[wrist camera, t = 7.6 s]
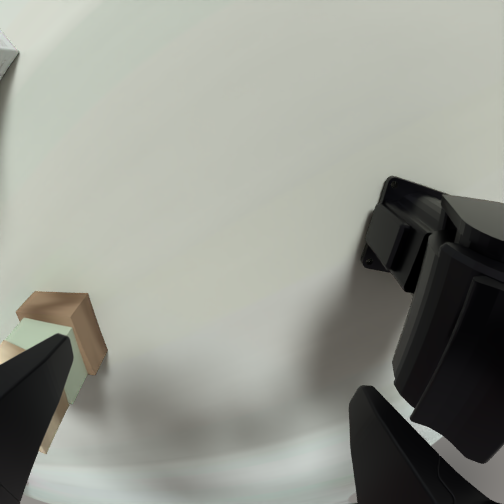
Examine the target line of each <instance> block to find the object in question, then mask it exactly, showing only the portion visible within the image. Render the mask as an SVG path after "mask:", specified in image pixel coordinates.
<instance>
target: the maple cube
mask: <svg viewBox="0 0 504 504" xmlns="http://www.w3.org/2000/svg"><path fill="white" fill-rule="evenodd" d="M24 351H25V349H23V348H20V347H18V346H16V345H14V344H12V343H10V342H7V341H5V340H3V342H2V343H1V344H0V364H2V363H4V362H6V361H8V360H9V359H11V358H13V357H15V356H16V355H18V354H20V353H22V352H24ZM68 407H69V403H68V400H67V397H66V393H65V390H63V393H62V396H61V399H60V401H59V404H58V406H57V408H56V411H55V413H54V415H53V417H52V420H51V422H50V424H49V427H48V429H47V431H46V434H45V436H44V439H43V441H42V444H41V446H40V449H39V451H40V452H42V453H44V454H47V452H48V449H49V447H50V445H51V443H52V440H53V438H54V436H55V434H56V432H57V430H58V427H59V425H60V423H61V421H62V419H63V417H64V415H65V413H66V411H67V409H68Z"/></svg>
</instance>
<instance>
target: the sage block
mask: <svg viewBox="0 0 504 504" xmlns="http://www.w3.org/2000/svg"><path fill="white" fill-rule="evenodd" d="M56 333H60V334H63V335H66V336H68V337H69V338H70V341H71V345H72V350H73V355H74V359H73V363H72V366H71V369H70V372H69V375H68V378H67V381H66V384H65V387H64V390H65V393H66V397H67V400H68V403H70V404H73V403H74V401H75V399H76V397H77V395H78V393H79V390H80V388H81V386H82V384H83V382H84V380H85V379H86V377H87V375H88V373H87V370H86V368H85V365H84V362H83V359H82V356H81V354H80V351H79V348H78V345H77V342H76V338H75V335H74V332H73V329H72V327H68V326H62V325H57V324H52V323H47V322H42V321H38V320H33V319H29V318H23V319H22V320H21V321H20V323H19V324H18V325H17V326H16V327H15V329H14V330H13V331H12V332H11V333H10V335H9V336H8V337H7V338H6V340H5V341H7V342H10V343H12V344H14V345H16V346H18V347H20V348H23V349H25V350H27V349H29V348H31V347H33V346H34V345H36V344H38V343H40V342H42V341H43V340H45V339H47V338H49V337H51V336H52V335H54V334H56Z"/></svg>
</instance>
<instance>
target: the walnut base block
mask: <svg viewBox="0 0 504 504" xmlns="http://www.w3.org/2000/svg"><path fill="white" fill-rule="evenodd" d="M16 314H17V316H18V318H19V321H21V320H22V319H23V318H29V319H33V320H38V321H42V322H47V323H52V324H57V325H62V326H68V327H72V329H73V332H74V335H75V338H76V342H77V345H78V348H79V351H80V354H81V356H82V359H83V362H84V365H85V368H86V370H87V373H88V374H89V375H96V373H97V371H98V369H99V367H100V365H101V363H102V361H103V359H104V357H105V355H106V353H107V351H108V349H107V347H106V344H105V342H104V339H103V336H102V333H101V331H100V328H99V325H98V322H97V319H96V316H95V313H94V310H93V307H92V304H91V301H90V298H89V295H88V293H63V292H38V291H35V292H34V293H33V294H32V295H31V296H30V297H29V298H28V299H27V300H26V301H25V302H24V303H23V304H22V305H21V306H20V308H19V309H18V310H17V311H16Z"/></svg>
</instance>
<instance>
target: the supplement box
mask: <svg viewBox="0 0 504 504" xmlns="http://www.w3.org/2000/svg"><path fill="white" fill-rule="evenodd" d="M18 53H19V51H18V50H17V48H16V47H15V46H14V45H13V43H12V42H11V41H10V40H9V39H8V38H7V36H6V35H5V34H4V33H3V32H2V30H1V29H0V80H1V78H2V77H3V75H4V73H5V72H6V70H7V69H8V67H9V66H10V64H11V63H12V61H13V60H14V58H15V57H16V56H17V54H18Z"/></svg>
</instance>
